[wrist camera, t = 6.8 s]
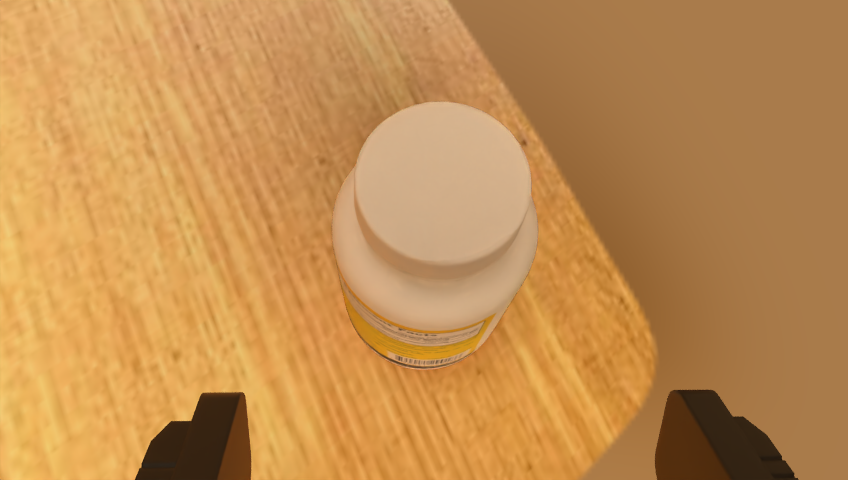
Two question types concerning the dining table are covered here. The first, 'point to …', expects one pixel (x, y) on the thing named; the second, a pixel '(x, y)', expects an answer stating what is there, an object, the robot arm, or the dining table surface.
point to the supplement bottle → (434, 233)
